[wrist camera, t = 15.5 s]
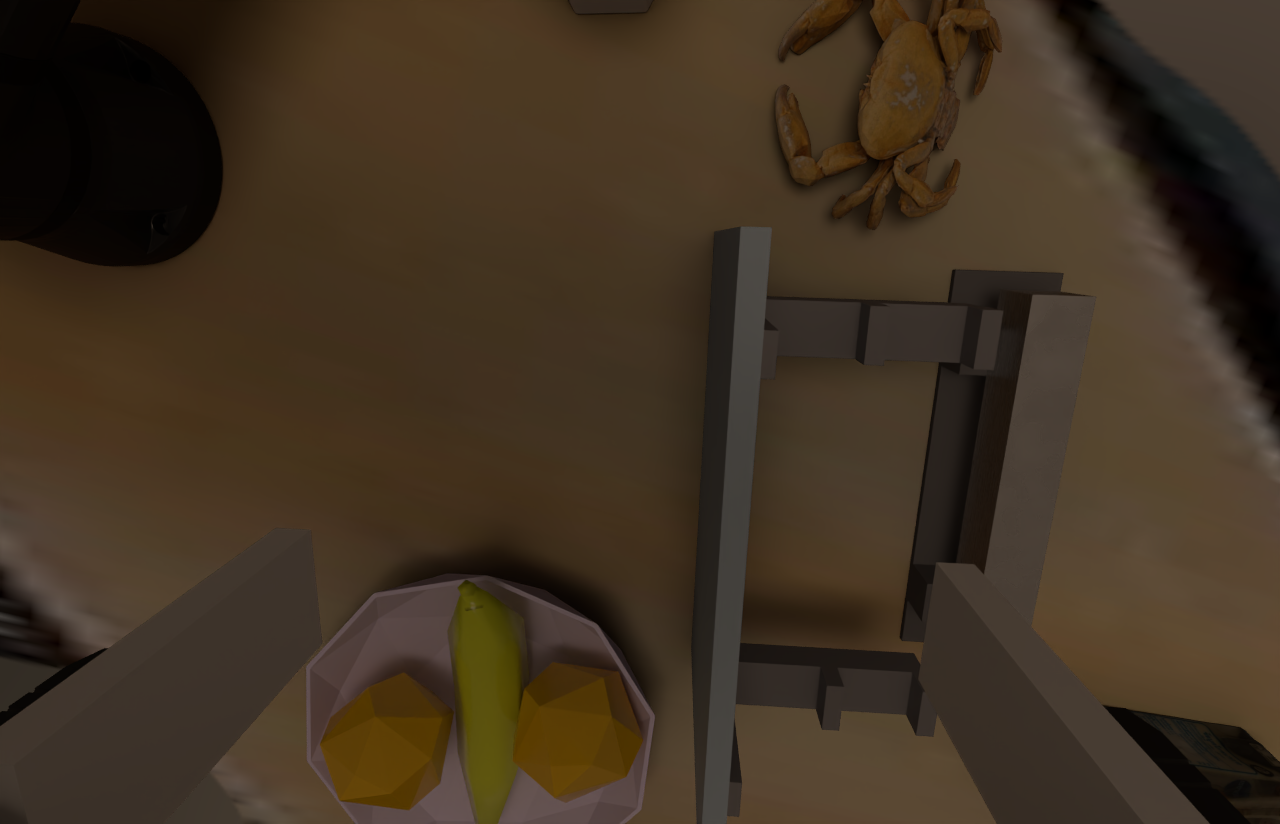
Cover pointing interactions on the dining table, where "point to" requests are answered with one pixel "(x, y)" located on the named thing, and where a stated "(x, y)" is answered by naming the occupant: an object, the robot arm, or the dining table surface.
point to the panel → (736, 362)
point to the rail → (1024, 439)
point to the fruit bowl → (477, 710)
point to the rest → (953, 446)
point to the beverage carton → (1228, 763)
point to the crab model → (891, 100)
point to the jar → (609, 6)
